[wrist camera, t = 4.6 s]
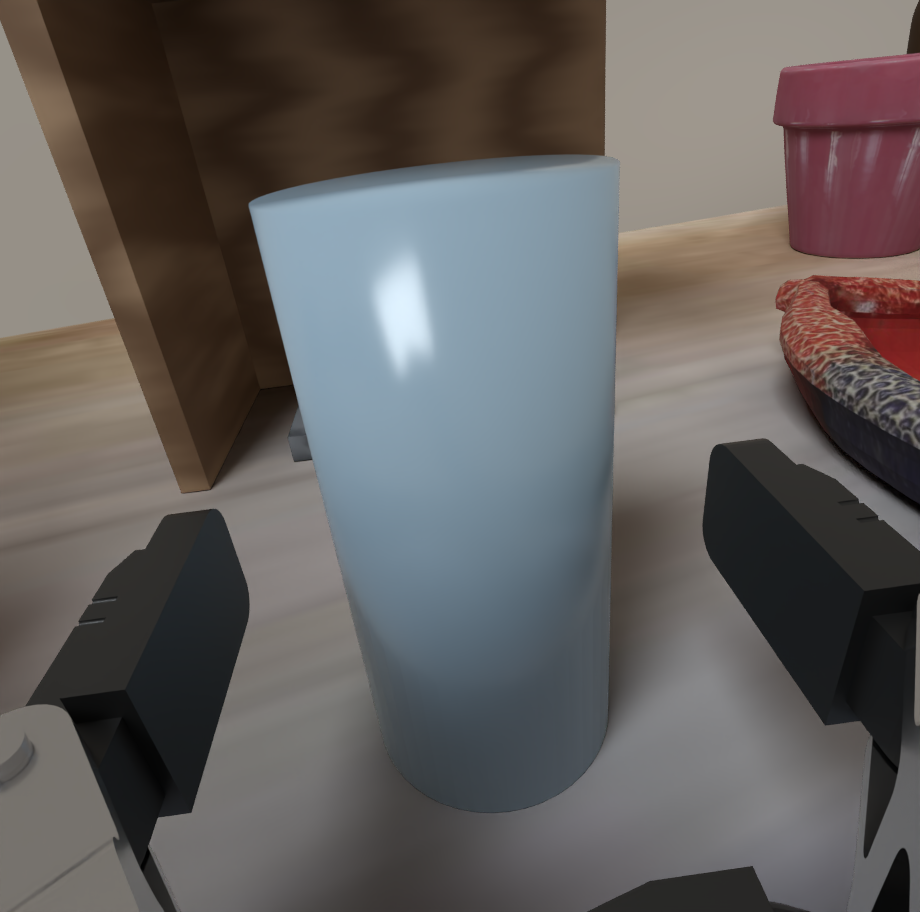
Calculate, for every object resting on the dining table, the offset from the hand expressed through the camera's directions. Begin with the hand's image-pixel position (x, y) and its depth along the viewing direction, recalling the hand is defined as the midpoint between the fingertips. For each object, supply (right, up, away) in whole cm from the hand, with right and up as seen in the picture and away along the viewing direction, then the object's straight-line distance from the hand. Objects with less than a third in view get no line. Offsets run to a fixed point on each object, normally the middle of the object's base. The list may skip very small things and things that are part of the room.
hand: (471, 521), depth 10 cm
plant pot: (+31, +18, +39) cm, 53 cm away
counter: (-2, +4, +21) cm, 22 cm away
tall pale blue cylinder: (+1, -5, +5) cm, 7 cm away
